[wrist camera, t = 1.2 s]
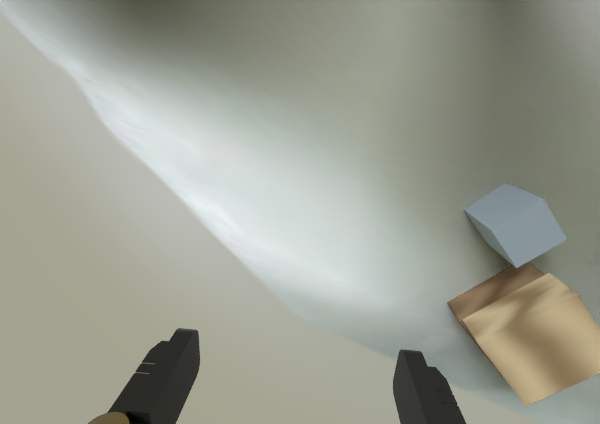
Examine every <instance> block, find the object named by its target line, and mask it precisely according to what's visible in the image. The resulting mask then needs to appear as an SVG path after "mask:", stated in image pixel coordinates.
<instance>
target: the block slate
mask: <svg viewBox="0 0 600 424" xmlns="http://www.w3.org/2000/svg"><path fill="white" fill-rule="evenodd" d="M464 211H465V212H466V214H467V215H468V217H469V218H470V220H471V221H472V223H473V224H474V226H475V227H476V229H477V230H478V232H479V233H480V235H481V236H482V238H483V239H484V240H485V242H486V243H487V244H488V245H490V246H491V247H492V248H493V249H494V250H495V251H497V252H498V253H499V254H500V255H501V256H503V257H504V258H505V259H506V260H507V261H509V262H510V263H511V264H512V265H513V266H514V267H516V268H518V267H520V266H521V265H523V264H525V263H527V262H529V261H530V260H532V259H534V258H536V257H538V256H539V255H541V254H543V253H545V252H546V251H548V250H550V249H552V248H554V247H555V246H557V245H559V244H561V243H562V242H564V241H566V240H568V239H567V237H566V236H565V234H564V232H563V231H562V229H561V227H560V226H559V224H558V222H557V221H556V219H555V217H554V216H553V214H552V212H551V211H550V209H549V207H548V205H547V204H546V202H545V200H544V199H543V198H541V197H538V196H536V195H534V194H531V193H529V192H527V191H525V190H522V189H520V188H518V187H515V186H513V185H511V184H508V183H504V184H503V185H501V186H500V187H498V188H497V189H495V190H493V191H492V192H490V193H489V194H487V195H486V196H484V197H482V198H481V199H479V200H478V201H476V202H475V203H473V204H471V205H470V206H468V207H467V208H465V209H464Z"/></svg>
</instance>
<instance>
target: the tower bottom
mask: <svg viewBox="0 0 600 424" xmlns="http://www.w3.org/2000/svg"><path fill="white" fill-rule="evenodd" d="M544 275H545V274H544V273H543V272H541V271H540V270H539V269H537V268H536V267H535V266H533V265H532V264H531V263H530V262H527V263H525V264H523V265H521V266H520V267H518V268H516V267H514V266H513V265H512V266H510V267H509V268H507V269H505V270H503V271H502V272H500V273H498V274H496V275H495V276H493V277H491V278H489V279H488V280H486V281H484V282H482V283H481V284H479V285H477V286H475V287H474V288H472V289H470V290H469V291H467V292H465V293H463V294H462V295H460V296H458V297H456V298H455V299H453V300H451V301H449V302H448V305H449V306H450V308H451V309H452V311H453V312H454V314H455V315H456V317H457V319H458V320H459V322H460V323H461V324H462V326H463V327H464V328H465V329H466V331H467V332H468V333H469V335H470V336H471V337H472V338H473V340H474V341H475V342H476V344H477V345H478V343H477V341H476V340H475V338H474V337H473V335H472V334H471V332H470V331H469V329H468V328H467V326H466V324H465V323H464V321H463V320H462V319H464V318H466V317H468V316H470V315H472V314H473V313H475V312H477V311H479V310H481V309H483V308H484V307H486V306H488V305H490V304H492V303H494V302H496V301H497V300H499V299H501V298H503V297H505V296H507V295H509V294H510V293H512V292H514V291H516V290H518V289H520V288H521V287H523V286H525V285H527V284H529V283H531V282H533V281H534V280H536V279H538V278H540V277H542V276H544ZM478 346H479V345H478ZM479 347H480V346H479ZM480 349H481V347H480ZM481 350H482V349H481ZM482 351H483V350H482ZM483 353H484V354H485V352H484V351H483ZM485 355H486V354H485ZM486 356H487V355H486ZM487 358H488V356H487ZM488 359H489V358H488ZM489 360H490V359H489ZM490 362H491V360H490ZM491 363H492V362H491ZM492 364H493V363H492ZM493 365H494V364H493ZM494 367H495V365H494ZM495 368H496V367H495ZM496 369H497V368H496ZM497 371H498V369H497ZM498 372H499V371H498ZM499 373H500V372H499ZM500 374H501V373H500ZM501 376H502V375H501ZM502 377H503V376H502Z"/></svg>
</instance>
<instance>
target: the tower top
mask: <svg viewBox="0 0 600 424" xmlns="http://www.w3.org/2000/svg"><path fill="white" fill-rule="evenodd" d="M462 320H463V321H464V323H465V324H466V326H467V328H468V329H469V331H470V332H471V334H472V335H473V337H474V338H475V340H476V341H477V343H478V345H479V346H480V347H481V349H482V350H483V351H484V352H485V354H486V355H487V356H488V358H489V359H490V360H491V362H492V363H493V364H494V365H495V367H496V368H497V369H498V371H499V372H500V373H501V375H502V376H503V377H504V378H505V380H506V381H507V382H508V384H509V385H510V386H511V388H512V389H513V390H514V391H515V393H516V394H517V395H518V397H519V398H520V399H521V401H522V402H523V403H524V404H525V406H526V405H529V404H531V403H533V402H536V401H538V400H540V399H542V398H545V397H547V396H549V395H551V394H554V393H556V392H558V391H561V390H563V389H565V388H567V387H570V386H572V385H574V384H576V383H579V382H581V381H583V380H586V379H588V378H590V377H592V376H595V375H597V374H599V373H600V328H599V327H598V325H597V323H596V322H595V320H594V319H593V317H592V315H591V314H590V312H589V311H588V309H587V307H586V306H585V304H584V303H583V301H582V299H581V298H580V296H579V295H578V294H577V293H576V292H574V291H573V290H572V289H570V288H569V287H568V286H566V285H565V284H564V283H562V282H561V281H560V280H558V279H557V278H556V277H554V276H553V275H552V274H550V273H547V274H545V275H544V276H542V277H540V278H538V279H536V280H534V281H533V282H531V283H529V284H527V285H525V286H523V287H521V288H520V289H518V290H516V291H514V292H512V293H510V294H509V295H507V296H505V297H503V298H501V299H499V300H497V301H496V302H494V303H492V304H490V305H488V306H486V307H484V308H483V309H481V310H479V311H477V312H475V313H473V314H472V315H470V316H468V317H466V318H464V319H462Z"/></svg>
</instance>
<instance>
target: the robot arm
mask: <svg viewBox="0 0 600 424" xmlns="http://www.w3.org/2000/svg"><path fill="white" fill-rule="evenodd" d="M199 365H200V351H199V336H198V331H197V330H192V329H182V328H178V329H177V330H176V331H175V333H174V334H173V336H172V338H171V339H170V341H161V342H160V343H158V344H157V345H156V346H155V347H154V348H152V349H151V350H150V351H149V353H148V354H147V355H146V357H145V358H144V360H143V361H142V364H140V366H139V367H138V369H137V370H136V373H135V374H134V375H133V376H132V377H131V379H130V381H129V382H128V383H127V385H126V386H125V388H124V389H123V391H122V392H121V394H120V395H119V397H118V398H117V400H116V401H115V403H114V404H113V406H112V407H111V408H110V410H109V411H108V412H107V413H106V414H103V415H100V416H98V417H96V418H95V419H93V420H92V421H90V422H89V423H88V424H176V421H177V419H178V417H179V415H180V413H181V410H182V408H183V406H184V403H185V401H186V399H187V397H188V395H189V392H190V390H191V388H192V385H193V383H194V381H195V379H196V376H197V374H198V370H199ZM393 393H394V398H395V402H396V406H397V410H398V414H399V419H400V422H401V424H466V422H465V420H464V418H463V416H462V414H461V411H460V409H459V407H458V406H457V402H456V400H455V398H454V396H453V395H452V391H451V389H450V386H449V384H448V382H447V380H446V378H445V377H444V376H443V375H442V374H441V373H440V372H439V371H438V369H437V368H436V367H428V366H427V364H426V361H425V359H424V356H423V354H422V352H420V351H412V350H400V351H399V355H398V360H397V364H396V369H395V374H394V379H393Z"/></svg>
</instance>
